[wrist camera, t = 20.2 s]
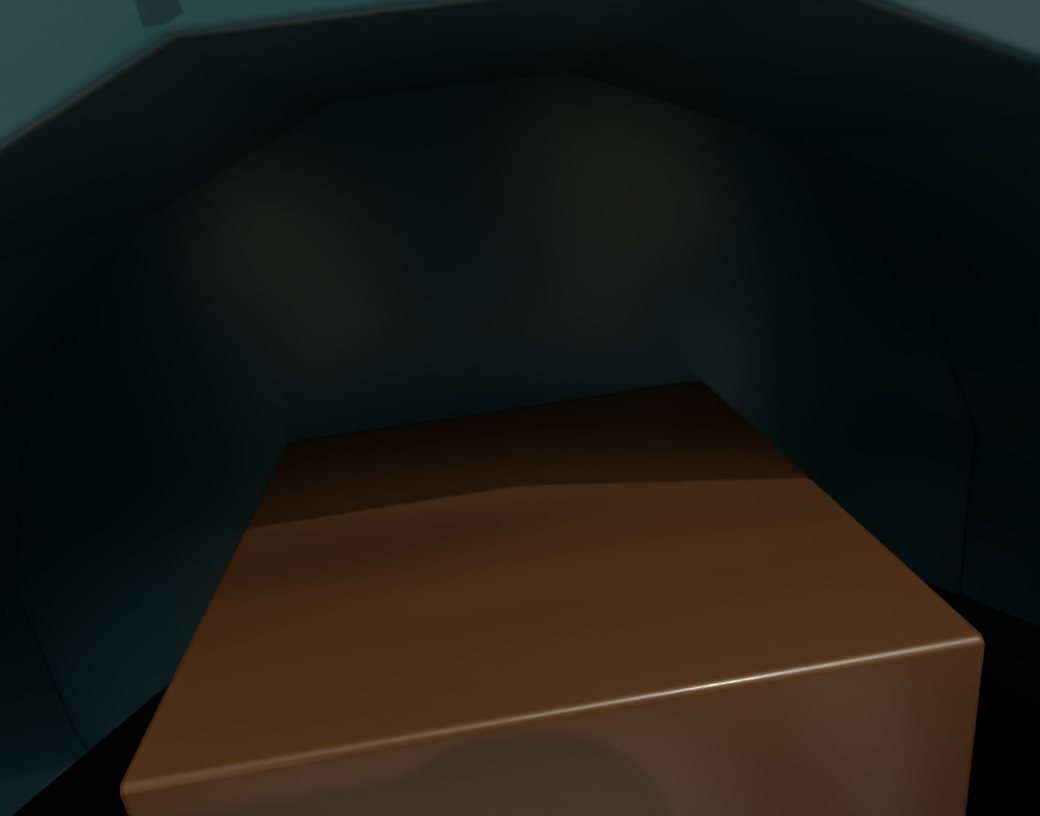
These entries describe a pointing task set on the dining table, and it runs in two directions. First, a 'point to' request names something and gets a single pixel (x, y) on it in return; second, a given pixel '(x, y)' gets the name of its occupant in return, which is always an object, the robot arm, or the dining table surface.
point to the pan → (490, 276)
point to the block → (563, 633)
